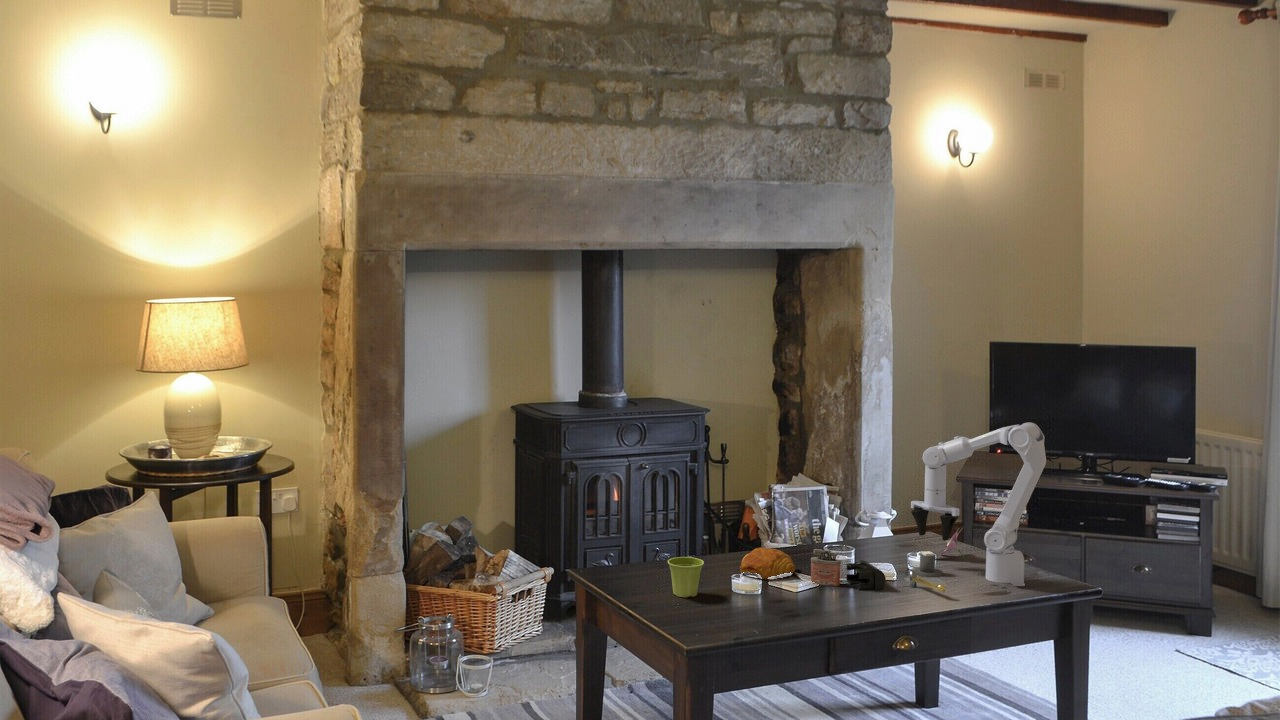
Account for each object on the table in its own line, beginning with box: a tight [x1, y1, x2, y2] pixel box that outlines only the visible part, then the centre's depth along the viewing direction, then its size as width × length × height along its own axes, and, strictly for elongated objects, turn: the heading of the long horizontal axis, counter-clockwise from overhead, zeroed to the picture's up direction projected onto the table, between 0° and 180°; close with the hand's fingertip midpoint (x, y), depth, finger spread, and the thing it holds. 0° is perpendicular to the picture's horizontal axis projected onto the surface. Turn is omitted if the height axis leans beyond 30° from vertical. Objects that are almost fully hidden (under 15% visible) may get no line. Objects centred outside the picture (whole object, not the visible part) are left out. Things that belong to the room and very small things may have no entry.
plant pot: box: [667, 556, 705, 598], centre depth 289 cm, size 9×9×9 cm
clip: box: [909, 570, 947, 593], centre depth 289 cm, size 13×2×4 cm, turn 24°
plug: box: [911, 550, 943, 578], centre depth 308 cm, size 8×8×7 cm
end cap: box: [846, 559, 887, 591], centre depth 295 cm, size 10×7×7 cm
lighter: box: [810, 548, 842, 587], centre depth 297 cm, size 8×3×10 cm, turn 65°
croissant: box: [739, 546, 796, 580], centre depth 310 cm, size 14×16×8 cm
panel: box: [903, 577, 950, 589], centre depth 297 cm, size 16×13×1 cm
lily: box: [936, 527, 966, 561], centre depth 328 cm, size 12×12×10 cm
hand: (933, 537), depth 312 cm, fingers open, 7 cm apart
